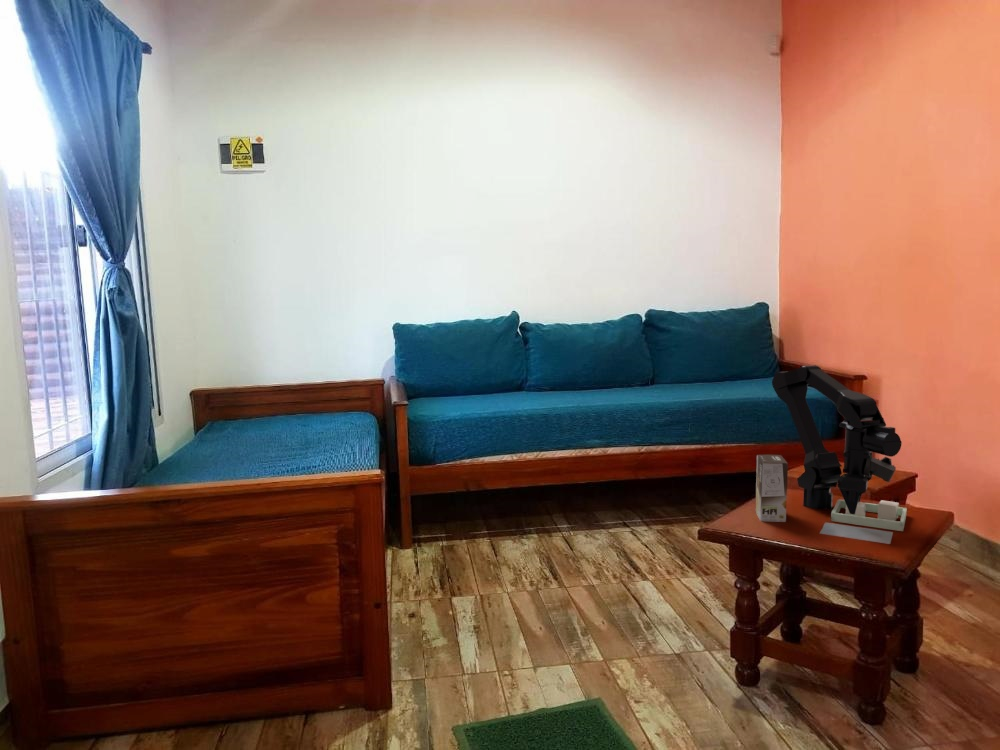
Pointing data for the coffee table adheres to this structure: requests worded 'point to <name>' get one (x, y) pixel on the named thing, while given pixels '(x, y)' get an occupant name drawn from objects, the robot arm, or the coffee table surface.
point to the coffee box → (771, 488)
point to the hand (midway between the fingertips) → (854, 508)
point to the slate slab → (857, 533)
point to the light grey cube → (888, 510)
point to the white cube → (858, 509)
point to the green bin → (867, 520)
